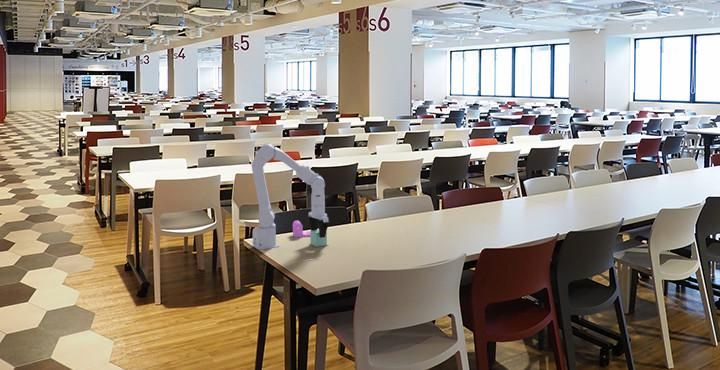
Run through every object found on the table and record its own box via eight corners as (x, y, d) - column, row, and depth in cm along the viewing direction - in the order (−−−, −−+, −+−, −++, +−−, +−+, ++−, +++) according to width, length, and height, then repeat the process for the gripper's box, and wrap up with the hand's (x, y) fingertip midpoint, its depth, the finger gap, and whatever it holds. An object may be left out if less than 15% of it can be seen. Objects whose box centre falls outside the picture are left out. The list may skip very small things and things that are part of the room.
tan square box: (315, 248, 269) (315, 238, 268) (308, 244, 274) (308, 235, 273) (328, 246, 272) (328, 236, 271) (321, 243, 277) (321, 233, 277)
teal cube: (316, 246, 269) (315, 233, 268) (310, 244, 274) (310, 230, 273) (326, 245, 272) (326, 231, 271) (321, 242, 276) (321, 229, 275)
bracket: (294, 238, 287) (294, 223, 286) (293, 235, 292) (292, 220, 291) (322, 236, 290) (322, 221, 289) (320, 233, 296) (320, 219, 294)
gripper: (334, 206, 266) (334, 237, 268) (318, 201, 278) (318, 231, 280) (319, 208, 262) (320, 239, 265) (304, 202, 275) (304, 233, 277)
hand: (318, 235), depth 272 cm, fingers open, 7 cm apart
